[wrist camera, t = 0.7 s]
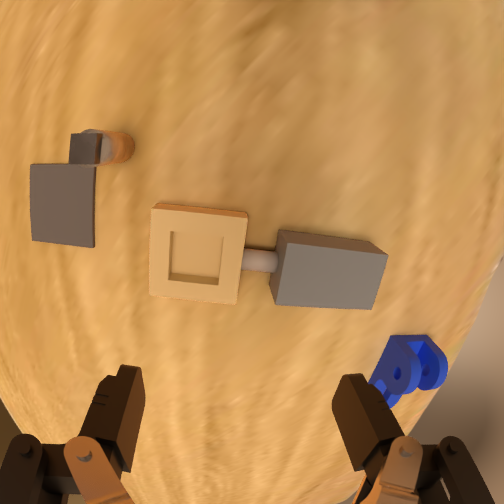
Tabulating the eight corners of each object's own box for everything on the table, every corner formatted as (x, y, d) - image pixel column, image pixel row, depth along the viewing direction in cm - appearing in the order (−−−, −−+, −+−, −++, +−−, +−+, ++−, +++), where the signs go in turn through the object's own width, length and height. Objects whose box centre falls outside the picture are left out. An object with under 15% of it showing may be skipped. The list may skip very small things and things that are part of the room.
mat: (32, 164, 28) (30, 164, 27) (96, 164, 29) (94, 164, 28) (34, 239, 31) (32, 240, 30) (94, 246, 32) (92, 248, 32)
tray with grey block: (154, 283, 35) (145, 303, 30) (157, 203, 31) (146, 212, 27) (352, 301, 38) (367, 320, 33) (372, 230, 35) (391, 242, 30)
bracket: (390, 334, 41) (417, 369, 33) (426, 334, 42) (454, 364, 34) (351, 410, 47) (367, 445, 38) (386, 406, 48) (404, 437, 40)
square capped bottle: (109, 132, 28) (67, 129, 19) (136, 133, 28) (102, 128, 19) (106, 162, 29) (64, 168, 20) (133, 163, 30) (98, 169, 20)
